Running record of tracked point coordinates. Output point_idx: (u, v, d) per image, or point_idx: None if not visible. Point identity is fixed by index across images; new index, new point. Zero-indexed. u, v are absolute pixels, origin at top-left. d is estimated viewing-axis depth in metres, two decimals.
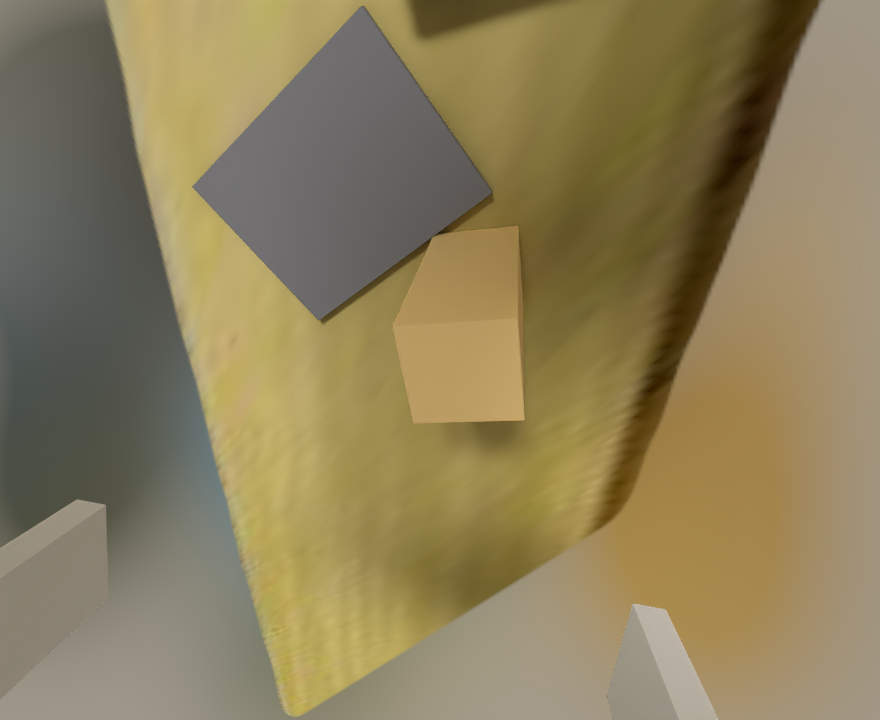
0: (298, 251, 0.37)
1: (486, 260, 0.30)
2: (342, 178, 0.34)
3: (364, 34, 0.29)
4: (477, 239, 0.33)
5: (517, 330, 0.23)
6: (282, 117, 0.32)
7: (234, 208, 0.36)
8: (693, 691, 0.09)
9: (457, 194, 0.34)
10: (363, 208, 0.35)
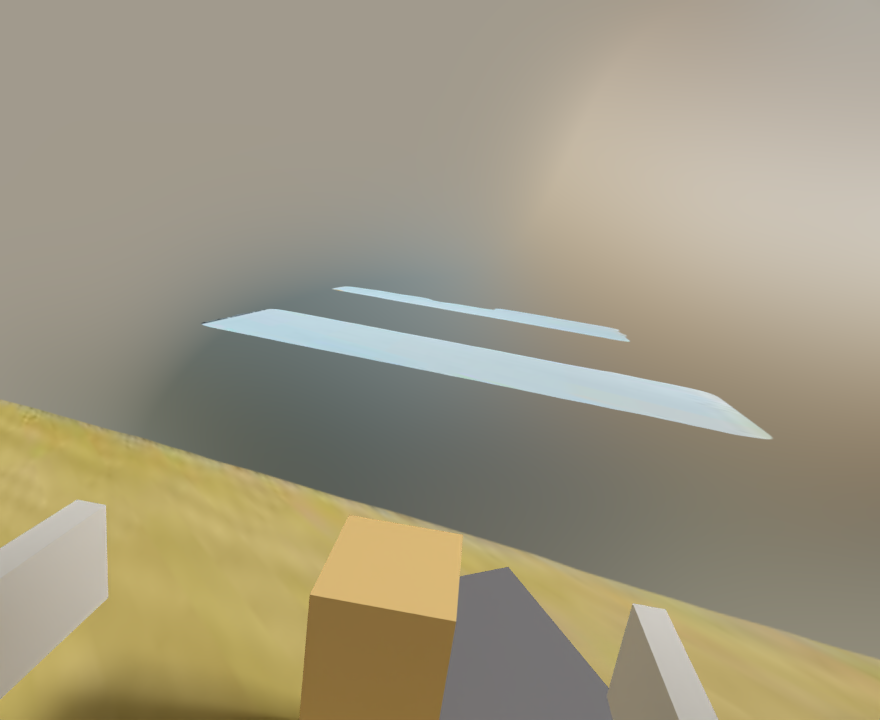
0: None
1: None
2: (504, 669, 0.34)
3: None
4: None
5: (439, 618, 0.20)
6: (559, 645, 0.37)
7: (488, 583, 0.43)
8: (693, 691, 0.09)
9: None
10: (473, 676, 0.33)
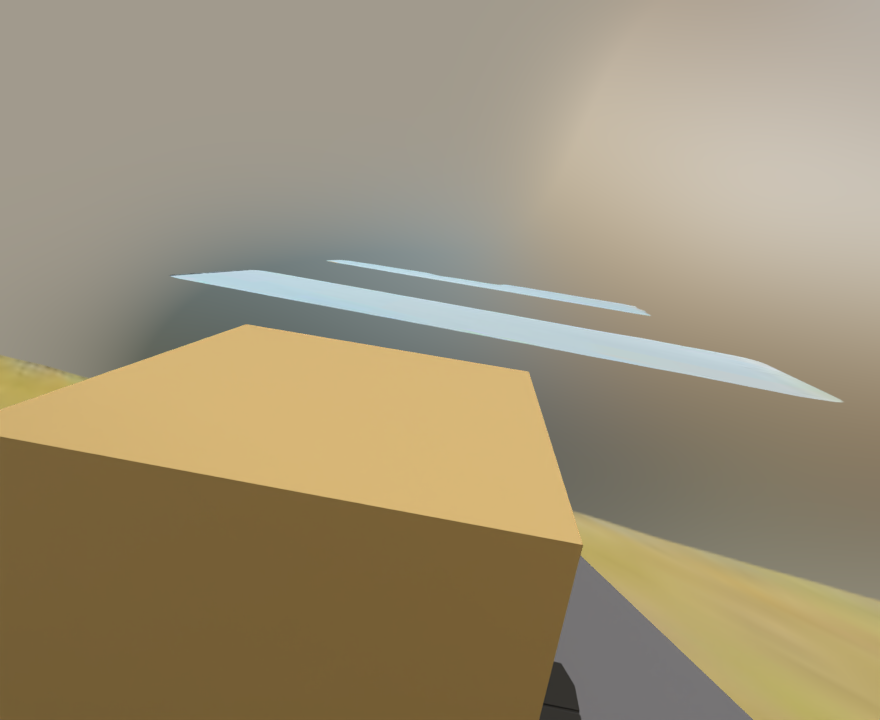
0: None
1: None
2: None
3: None
4: None
5: (508, 530, 0.04)
6: (658, 651, 0.21)
7: None
8: None
9: None
10: None
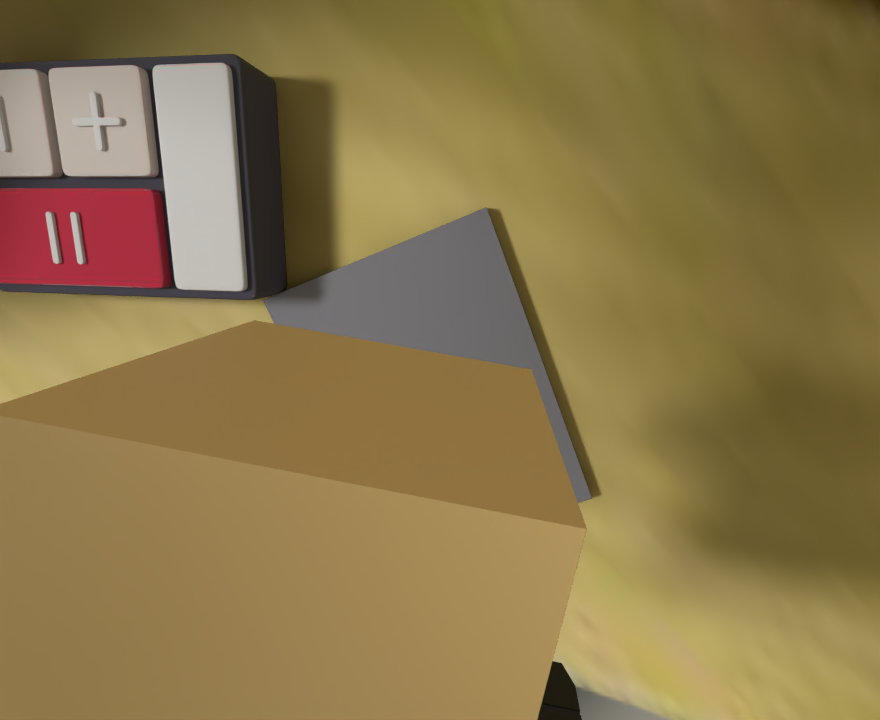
0: None
1: None
2: None
3: (287, 306, 0.27)
4: None
5: (515, 515, 0.05)
6: None
7: None
8: None
9: (475, 253, 0.26)
10: None
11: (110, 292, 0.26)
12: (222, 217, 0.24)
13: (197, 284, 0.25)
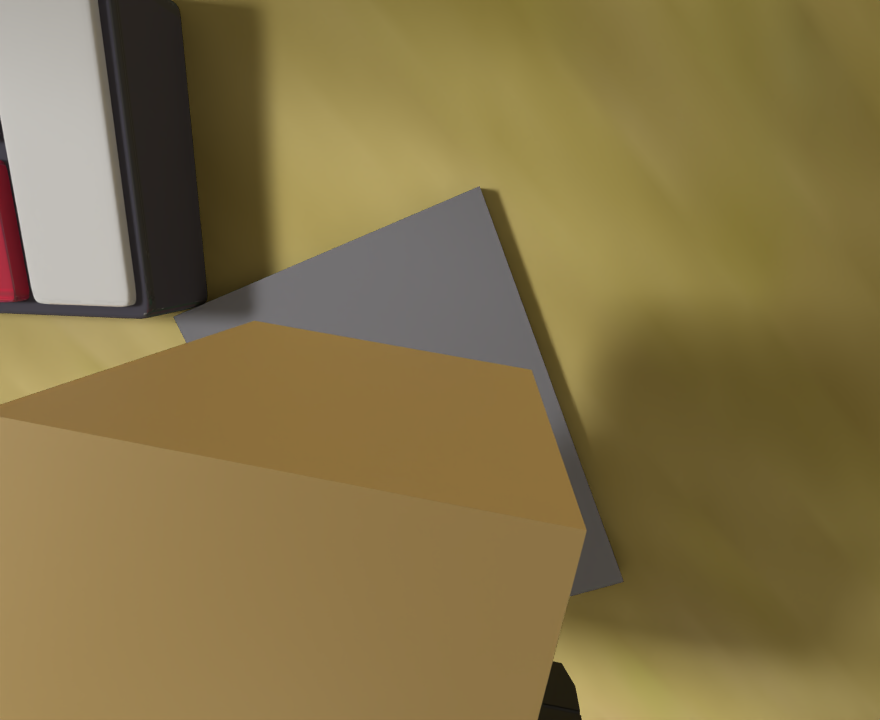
0: None
1: None
2: None
3: (206, 325, 0.20)
4: None
5: (515, 516, 0.05)
6: None
7: None
8: None
9: (465, 251, 0.18)
10: None
11: None
12: (91, 199, 0.16)
13: (63, 296, 0.17)
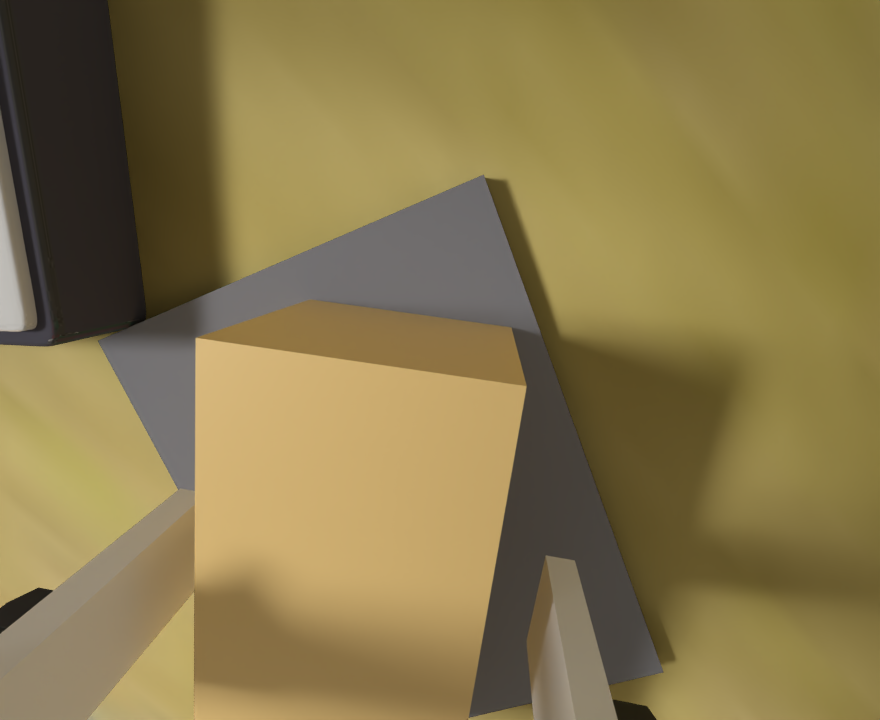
0: (491, 639, 0.17)
1: None
2: None
3: (138, 351, 0.16)
4: None
5: (488, 381, 0.09)
6: None
7: None
8: (581, 622, 0.11)
9: (464, 259, 0.14)
10: None
11: None
12: None
13: None
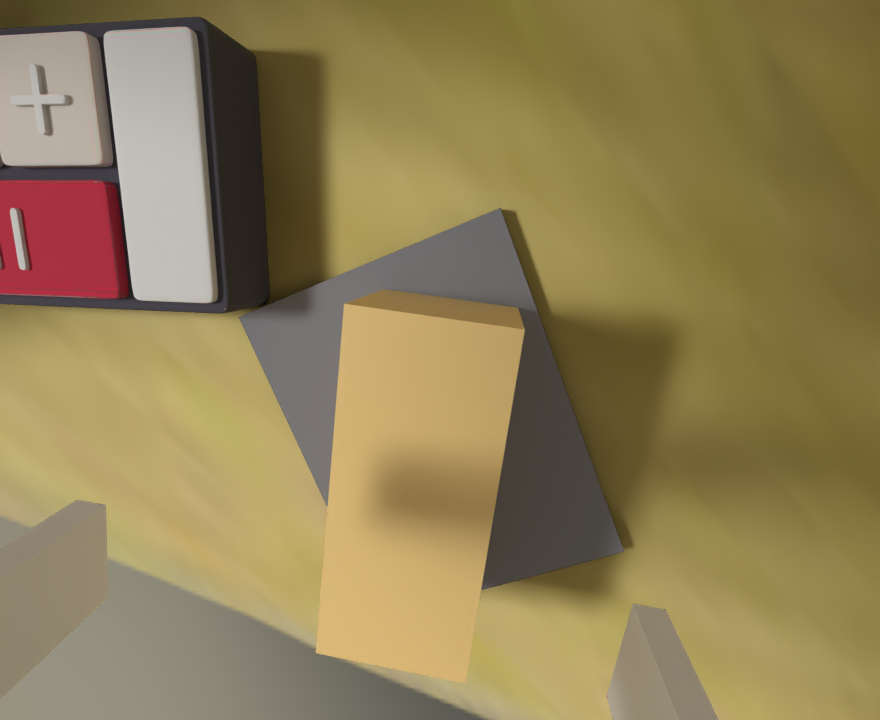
0: (503, 528, 0.24)
1: None
2: None
3: (266, 324, 0.23)
4: None
5: (504, 327, 0.16)
6: (328, 463, 0.25)
7: None
8: (693, 691, 0.09)
9: (487, 262, 0.22)
10: None
11: (59, 303, 0.22)
12: (187, 214, 0.20)
13: (158, 294, 0.21)
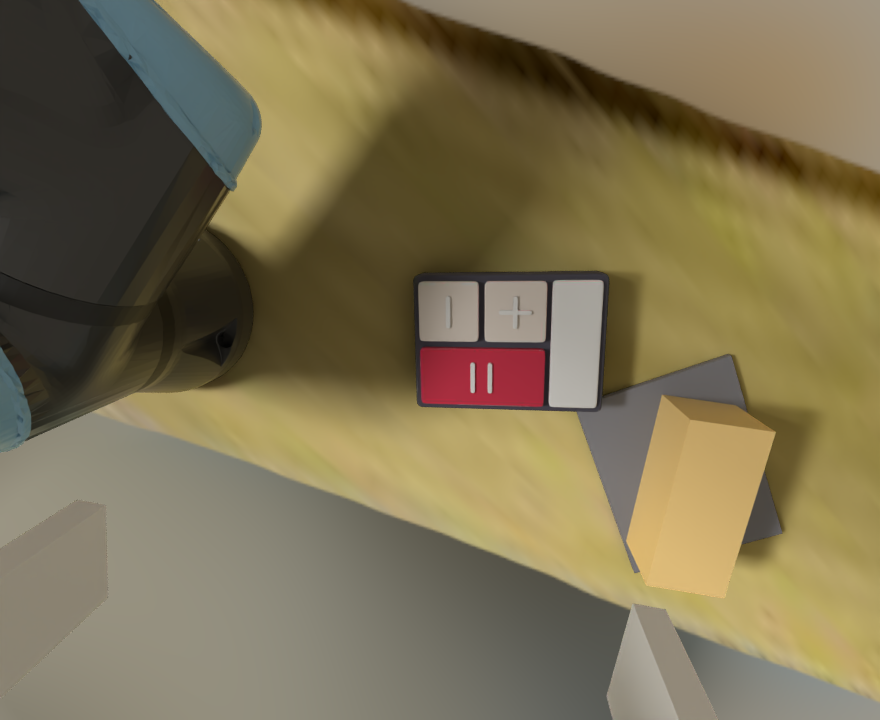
0: None
1: None
2: None
3: None
4: None
5: (766, 430, 0.36)
6: (616, 486, 0.44)
7: None
8: (693, 691, 0.09)
9: (721, 382, 0.41)
10: None
11: (499, 408, 0.41)
12: (588, 365, 0.39)
13: (564, 404, 0.40)
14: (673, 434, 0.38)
